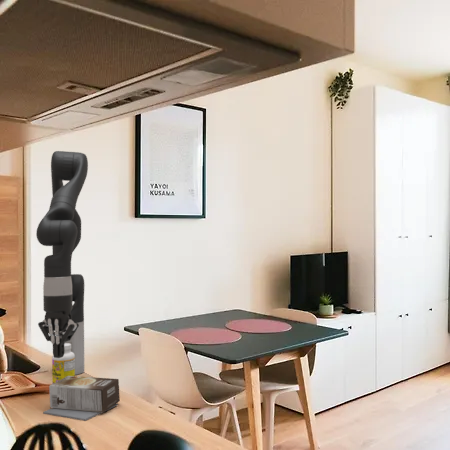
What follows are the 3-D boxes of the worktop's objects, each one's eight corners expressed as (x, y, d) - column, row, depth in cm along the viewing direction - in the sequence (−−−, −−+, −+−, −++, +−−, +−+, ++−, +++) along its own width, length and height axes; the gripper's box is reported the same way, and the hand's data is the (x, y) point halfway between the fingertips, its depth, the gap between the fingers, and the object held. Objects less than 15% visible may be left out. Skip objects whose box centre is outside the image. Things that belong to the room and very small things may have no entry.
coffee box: (67, 374, 148) (119, 377, 144) (68, 397, 148) (120, 401, 144) (48, 385, 139) (102, 389, 135) (49, 409, 139) (103, 413, 135)
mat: (43, 413, 137) (43, 411, 137) (77, 399, 148) (77, 397, 149) (85, 420, 131) (85, 419, 131) (117, 405, 142) (117, 403, 142)
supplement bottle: (48, 386, 162) (48, 344, 162) (68, 382, 167) (68, 341, 167) (58, 391, 157) (58, 347, 157) (78, 386, 162) (78, 344, 162)
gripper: (86, 292, 144) (87, 356, 143) (49, 291, 150) (50, 352, 149) (66, 295, 137) (67, 362, 137) (29, 294, 143) (30, 358, 143)
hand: (58, 357), depth 143 cm, fingers closed
